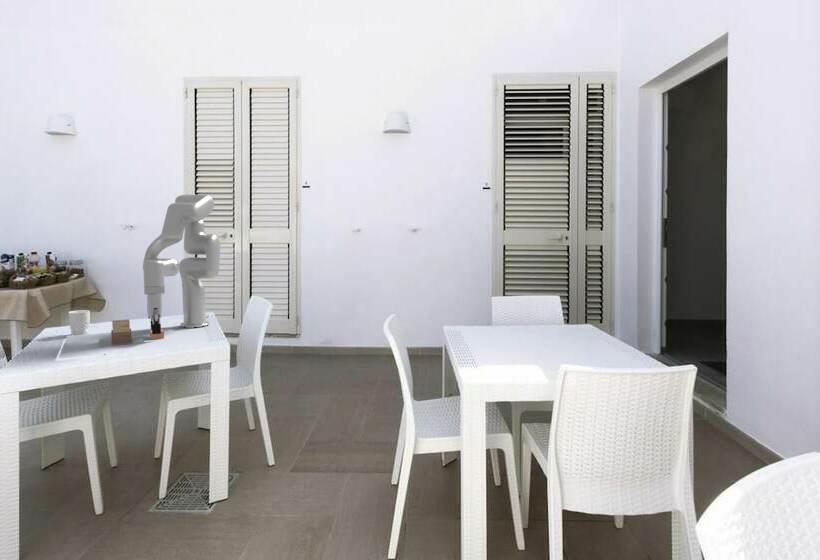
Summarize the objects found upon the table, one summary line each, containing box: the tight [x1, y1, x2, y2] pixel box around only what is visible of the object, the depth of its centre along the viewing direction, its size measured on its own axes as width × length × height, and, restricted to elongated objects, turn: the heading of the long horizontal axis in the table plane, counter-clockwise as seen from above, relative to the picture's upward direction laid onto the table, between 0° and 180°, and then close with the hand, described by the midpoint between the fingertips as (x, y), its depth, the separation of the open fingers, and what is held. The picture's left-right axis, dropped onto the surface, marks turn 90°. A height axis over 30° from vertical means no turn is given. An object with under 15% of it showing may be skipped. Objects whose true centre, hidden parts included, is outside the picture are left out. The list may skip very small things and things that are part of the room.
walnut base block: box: [110, 328, 132, 343], centre depth 226 cm, size 7×7×4 cm
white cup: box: [68, 309, 91, 336], centre depth 242 cm, size 8×8×10 cm
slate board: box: [98, 334, 145, 348], centre depth 226 cm, size 16×16×1 cm
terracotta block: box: [149, 328, 165, 340], centre depth 232 cm, size 5×5×4 cm
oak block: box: [111, 318, 131, 333], centre depth 225 cm, size 6×6×4 cm
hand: (155, 331), depth 231 cm, fingers open, 9 cm apart
